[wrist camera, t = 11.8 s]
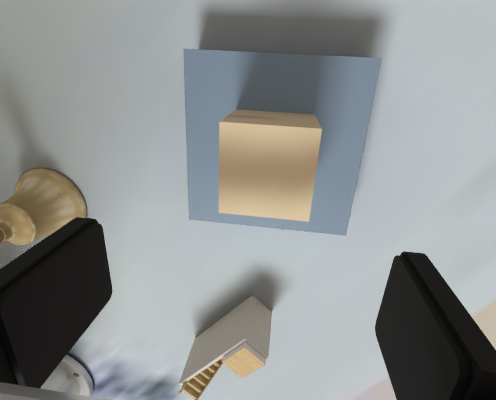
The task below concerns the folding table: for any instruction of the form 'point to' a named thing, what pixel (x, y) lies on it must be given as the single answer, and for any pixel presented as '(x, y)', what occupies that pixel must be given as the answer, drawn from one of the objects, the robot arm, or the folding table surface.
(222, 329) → the model
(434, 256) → the folding table surface
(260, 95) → the slate base
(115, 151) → the folding table surface
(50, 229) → the hand bell
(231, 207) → the oak cube
